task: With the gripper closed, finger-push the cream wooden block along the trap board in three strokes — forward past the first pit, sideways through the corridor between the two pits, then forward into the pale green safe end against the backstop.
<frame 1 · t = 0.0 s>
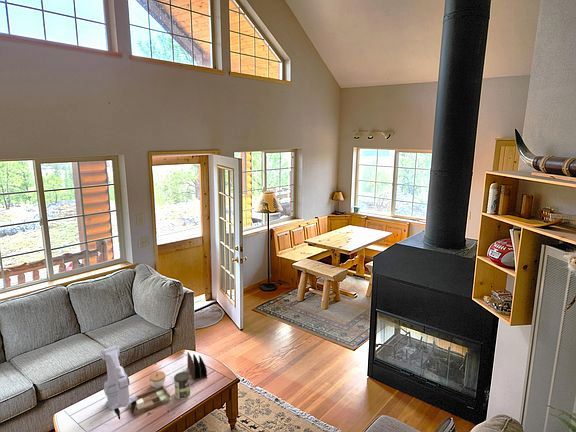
hand: (125, 415, 234), 10 cm above the table, fingers open, 7 cm apart
lidded jar: (158, 385, 277), on the table
coffee can: (182, 394, 268), on the table
letter holder: (197, 372, 292), on the table
cream block: (140, 406, 252), point 2 cm above the table, touching trap board
trap board: (149, 402, 259), on the table
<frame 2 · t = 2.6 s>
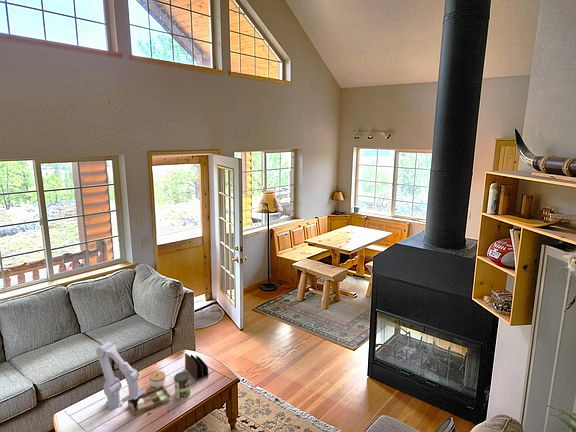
hand: (135, 407, 250), 3 cm above the table, fingers closed
cream block: (140, 406, 252), point 3 cm above the table, touching gripper, trap board
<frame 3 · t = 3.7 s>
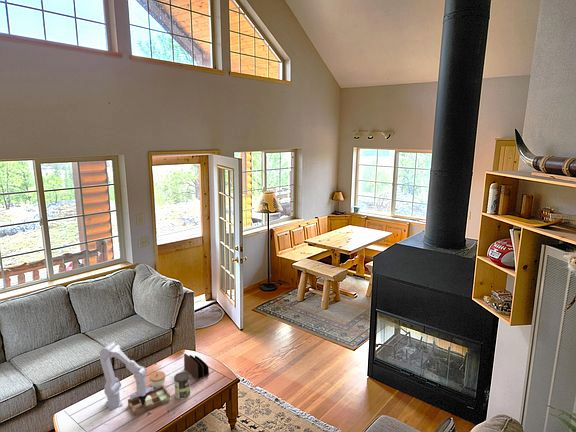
hand: (142, 404, 253), 3 cm above the table, fingers closed
cream block: (148, 403, 255), point 2 cm above the table, touching gripper, trap board
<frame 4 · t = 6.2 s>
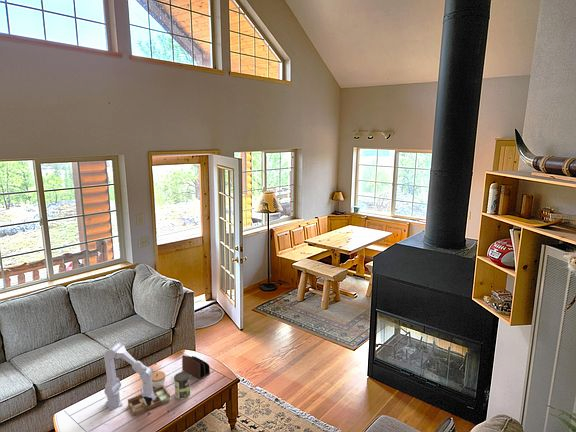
hand: (149, 404, 252), 3 cm above the table, fingers closed
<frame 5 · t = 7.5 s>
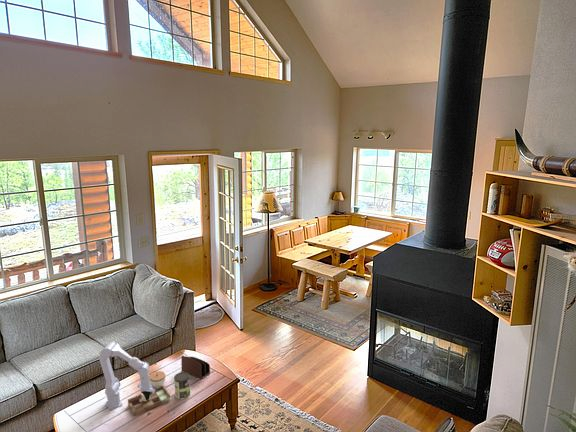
hand: (147, 399, 256), 4 cm above the table, fingers closed, pressing on cream block
cream block: (146, 399, 257), point 3 cm above the table, tilted 17°, touching gripper, trap board
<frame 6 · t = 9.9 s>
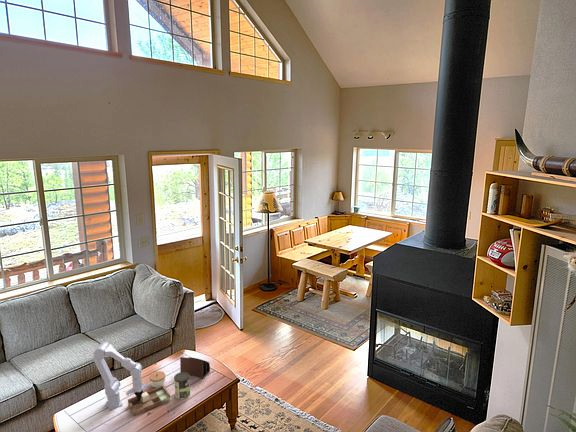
hand: (138, 400, 257), 3 cm above the table, fingers closed
cream block: (144, 399, 258), point 3 cm above the table, touching gripper, trap board
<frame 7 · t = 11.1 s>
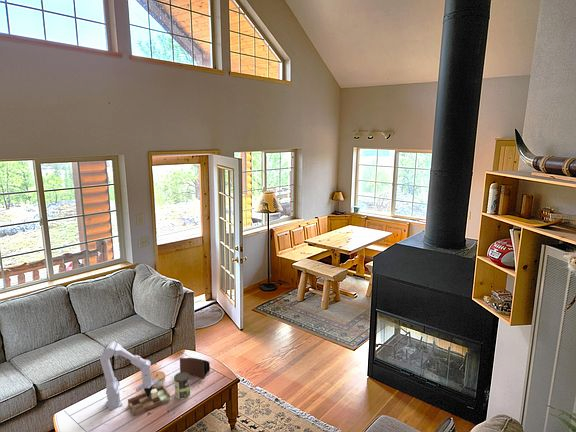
hand: (148, 396, 260), 3 cm above the table, fingers closed
cream block: (153, 396, 262), point 3 cm above the table, touching gripper
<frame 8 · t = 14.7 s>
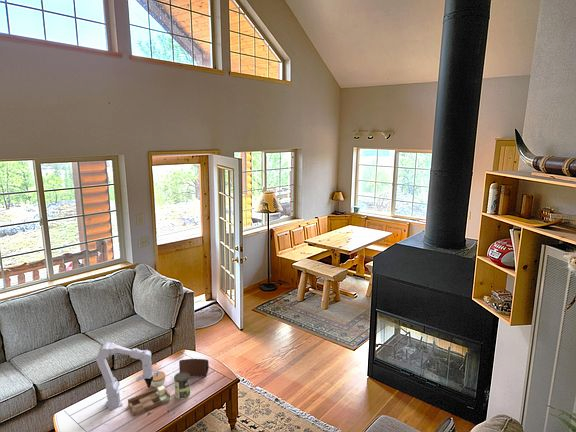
hand: (148, 386, 259), 10 cm above the table, fingers closed
cream block: (161, 393, 265), point 2 cm above the table, touching trap board
at the end: cream block inside the target area (1.8 cm from its centre), point 2.5 cm above the table; cream block tilted 0° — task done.
